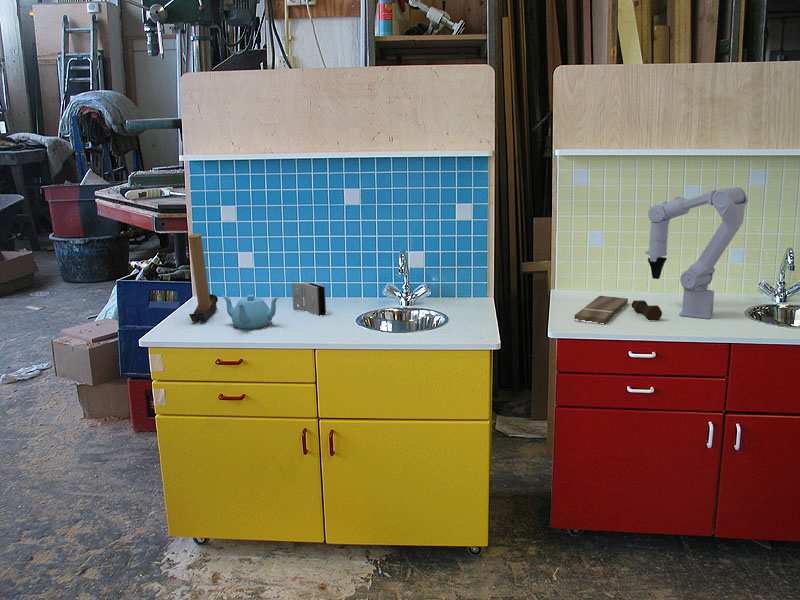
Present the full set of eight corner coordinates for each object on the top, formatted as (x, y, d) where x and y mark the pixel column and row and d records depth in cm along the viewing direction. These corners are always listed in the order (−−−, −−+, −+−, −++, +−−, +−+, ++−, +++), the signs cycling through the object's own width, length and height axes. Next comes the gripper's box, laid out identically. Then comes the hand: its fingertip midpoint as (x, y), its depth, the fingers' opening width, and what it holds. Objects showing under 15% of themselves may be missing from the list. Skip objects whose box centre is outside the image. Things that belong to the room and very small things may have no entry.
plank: (627, 303, 267) (627, 298, 267) (604, 324, 242) (605, 318, 242) (599, 300, 272) (599, 295, 272) (574, 321, 247) (574, 314, 247)
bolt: (636, 314, 260) (655, 325, 246) (625, 308, 259) (643, 318, 245) (645, 300, 260) (665, 309, 245) (633, 293, 259) (652, 302, 244)
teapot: (264, 317, 260) (262, 288, 257) (283, 326, 248) (281, 296, 245) (223, 324, 252) (221, 294, 249) (241, 334, 240) (238, 302, 237)
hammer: (206, 329, 253) (194, 246, 241) (191, 329, 253) (179, 246, 241) (219, 304, 272) (209, 225, 259) (205, 304, 272) (194, 225, 259)
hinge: (292, 310, 267) (291, 283, 265) (303, 307, 271) (302, 280, 269) (320, 316, 259) (319, 287, 256) (331, 313, 263) (330, 285, 261)
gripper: (651, 235, 266) (648, 273, 270) (641, 242, 254) (639, 281, 257) (671, 237, 263) (669, 275, 266) (663, 243, 251) (660, 283, 254)
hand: (655, 278), depth 261 cm, fingers closed
